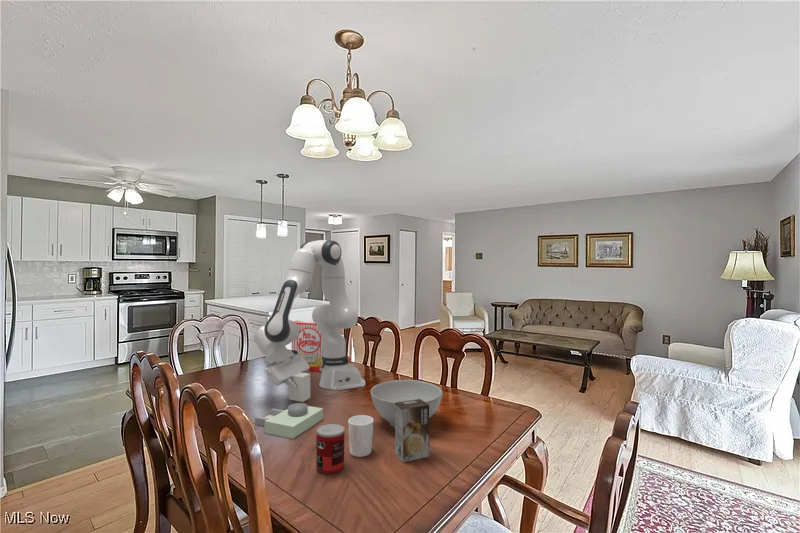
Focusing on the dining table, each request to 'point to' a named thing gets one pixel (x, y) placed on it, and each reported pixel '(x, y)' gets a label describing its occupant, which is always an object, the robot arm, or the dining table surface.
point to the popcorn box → (309, 344)
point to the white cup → (360, 435)
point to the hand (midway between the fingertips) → (300, 385)
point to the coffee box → (412, 430)
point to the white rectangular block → (300, 387)
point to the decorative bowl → (404, 396)
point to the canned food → (330, 448)
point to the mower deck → (290, 420)
